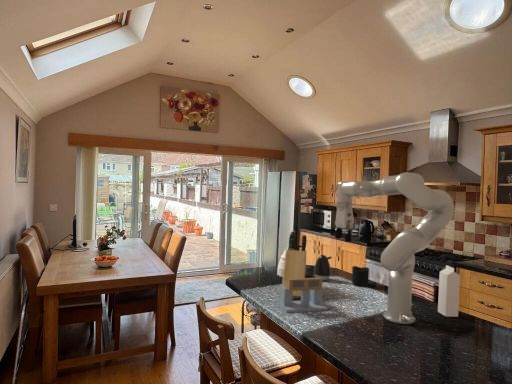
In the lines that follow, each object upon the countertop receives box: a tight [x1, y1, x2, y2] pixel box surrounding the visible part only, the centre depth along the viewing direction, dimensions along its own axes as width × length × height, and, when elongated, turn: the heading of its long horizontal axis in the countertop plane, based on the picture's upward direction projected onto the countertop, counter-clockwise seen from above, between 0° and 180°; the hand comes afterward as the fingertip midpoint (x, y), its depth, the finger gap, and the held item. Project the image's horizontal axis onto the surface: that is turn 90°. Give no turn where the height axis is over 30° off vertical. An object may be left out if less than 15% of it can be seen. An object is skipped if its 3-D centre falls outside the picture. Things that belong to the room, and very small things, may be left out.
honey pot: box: [276, 246, 289, 278], centre depth 213 cm, size 13×13×18 cm
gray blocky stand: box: [278, 284, 329, 314], centre depth 156 cm, size 11×20×9 cm, turn 104°
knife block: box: [281, 230, 307, 301], centre depth 180 cm, size 11×35×31 cm, turn 170°
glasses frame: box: [282, 277, 323, 291], centre depth 157 cm, size 9×16×5 cm, turn 104°
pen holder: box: [351, 265, 370, 288], centre depth 197 cm, size 9×9×10 cm
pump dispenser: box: [313, 254, 333, 282], centre depth 205 cm, size 10×10×15 cm
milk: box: [437, 265, 461, 318], centre depth 154 cm, size 6×6×22 cm
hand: (343, 240), depth 168 cm, fingers open, 9 cm apart
